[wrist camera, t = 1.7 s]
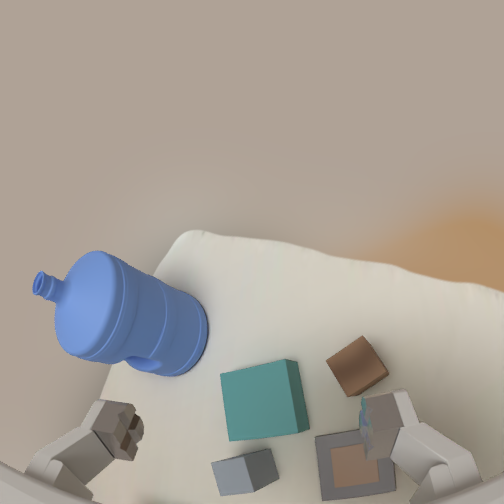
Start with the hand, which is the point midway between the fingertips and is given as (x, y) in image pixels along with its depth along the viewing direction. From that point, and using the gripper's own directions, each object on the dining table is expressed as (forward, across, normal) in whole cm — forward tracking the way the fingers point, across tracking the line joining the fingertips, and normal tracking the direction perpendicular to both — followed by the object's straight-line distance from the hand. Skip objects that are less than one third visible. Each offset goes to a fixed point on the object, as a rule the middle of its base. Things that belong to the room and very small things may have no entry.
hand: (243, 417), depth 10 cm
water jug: (+38, +20, +23) cm, 48 cm away
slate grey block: (+17, +4, +34) cm, 38 cm away
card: (+14, -9, +30) cm, 35 cm away
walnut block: (+24, -11, +21) cm, 34 cm away
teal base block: (+24, +2, +27) cm, 36 cm away
